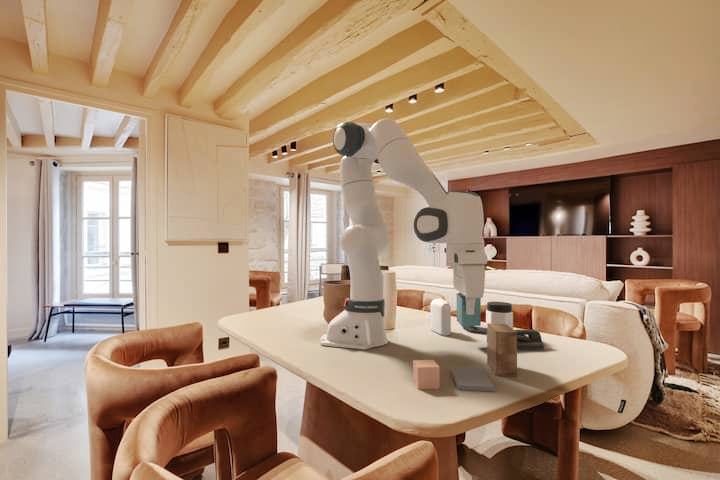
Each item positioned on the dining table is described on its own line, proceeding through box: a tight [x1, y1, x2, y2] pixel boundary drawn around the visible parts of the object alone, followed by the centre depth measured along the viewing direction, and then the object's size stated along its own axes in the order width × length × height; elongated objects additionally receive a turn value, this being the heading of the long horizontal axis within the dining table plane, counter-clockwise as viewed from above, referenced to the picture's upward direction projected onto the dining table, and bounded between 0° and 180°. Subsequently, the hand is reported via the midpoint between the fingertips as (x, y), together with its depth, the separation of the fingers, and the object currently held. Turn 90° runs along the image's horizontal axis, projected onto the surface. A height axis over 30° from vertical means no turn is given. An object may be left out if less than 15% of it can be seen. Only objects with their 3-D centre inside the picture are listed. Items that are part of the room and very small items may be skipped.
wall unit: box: [486, 324, 518, 377], centre depth 94 cm, size 5×10×11 cm, turn 174°
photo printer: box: [430, 298, 452, 337], centre depth 132 cm, size 10×4×12 cm, turn 14°
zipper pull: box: [462, 326, 545, 352], centre depth 114 cm, size 9×7×25 cm
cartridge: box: [456, 292, 482, 327], centre depth 88 cm, size 4×4×7 cm
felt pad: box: [449, 366, 495, 392], centre depth 86 cm, size 8×12×1 cm, turn 174°
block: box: [412, 359, 441, 390], centre depth 83 cm, size 5×5×5 cm
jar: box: [485, 301, 514, 337], centre depth 126 cm, size 9×8×12 cm
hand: (467, 311), depth 88 cm, fingers closed on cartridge, 5 cm apart
